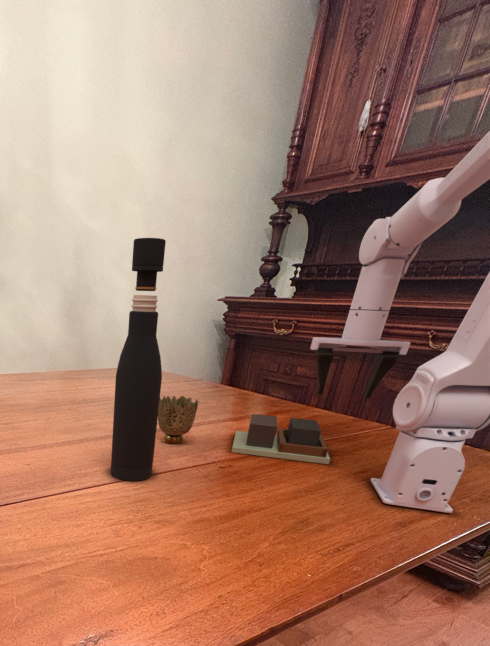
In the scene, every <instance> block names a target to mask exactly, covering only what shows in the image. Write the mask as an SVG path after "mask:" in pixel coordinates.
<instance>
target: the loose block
mask: <svg viewBox="0 0 490 646" xmlns="http://www.w3.org/2000/svg"><path fill="white" fill-rule="evenodd" d="M287 429H288V430H287V434H286V438H285V439H286V443H290V444H299V445H308V446H316V447H317V444H318V441H319V438H320V434H322V429H321V427H320V424H319V422H318V420H316V419H308V418H307V419H306V418H297V417H290V419H289V423H288V427H287Z"/></svg>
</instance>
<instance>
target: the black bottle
mask: <svg viewBox="0 0 490 646" xmlns="http://www.w3.org/2000/svg"><path fill="white" fill-rule="evenodd" d="M166 242H167V241H166V239H165V238H160V237H139V238H138V237H137V238H134V240H133V245H132V246H133V247H132V262H131V266H132V267H131V272H136V284H135V288H134V289H135V291H136V292H156V291H157V278H158V273H162V272H164V264H165V252H166ZM131 301H132V304H131V308H132V310H130V311H129V313H128V328H127V336H126V339H125V341H124V344H123V347H122V350H121V352H120V355H119V358H118V359H119V360H118V363H117V368H116V373H115V382H114V383H115V385H114V400H113V401H114V402H113V403H114V404H113V421H112V439H111V455H110V456H111V459H110V475H111V476H112V477H114V478H115V479H118V480H122V481H127V482H140V481H145V480H148V479H150V478H151V477H152V475H153V466H154V456H155V447H156V437H157V429H158V428H157V426H158V410H159V400H160V399H161V389H162V382H163V381H162V380H163V372H162V359H161V357H162V356H161V352H160V347H159V342H158V338H157V331H158V320H159V312H158V311H157V308H158V305H157V303H158V301H159V300H158V295H149V294H147V295H146V294H134V295H133V298H132V299H131Z"/></svg>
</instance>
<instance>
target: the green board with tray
mask: <svg viewBox="0 0 490 646" xmlns="http://www.w3.org/2000/svg"><path fill="white" fill-rule="evenodd" d="M278 427H279V426H278V416H276V415H267V414H266V415H265V414H257V413H255V414H254V413H252V414H251V416H250V421H249V425H248V430H247V431H242V430H236V431H235V434H234V438H233V442H232V447H231V453H235V454H243V455H249V456H258V457H265V458H273V459H283V460H290V461H299V462H306V463H314V464H321V465H330V462H331V457H330V455H329V448H328V446H327V443H326V441H325V438H324V435H323V434H322V433H321V434H320V438H319V441H318V444H317V447H316V446H308V445H299V444H290V443H286V439H285V438H286V434H287V430H288V428H280V427H279V428H278Z"/></svg>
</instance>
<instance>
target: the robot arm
mask: <svg viewBox="0 0 490 646" xmlns="http://www.w3.org/2000/svg"><path fill="white" fill-rule="evenodd" d="M459 161H460V162H458V163H457V165H455V166H454V168H452V170H451V171H450V172H449V173H447V175H446V176H445V177H437V178H433V179H429V180H428V181H427V182H426V183H425V184H424V185H423V186H422V187H421V188H420V189H419V190H418V191H417V192H416V193H415V194H414V195H413V196H412V197H411V198H410V199H409V200H408V201H406V203H404V205H402V206H401V207H400V208H399V209H398V210H397V211H396V212H395V213H394V214H393V215H392V216H386V217H385V218H377V219H375V220H374V221H373V222H372V224H371V225H370V226H369V227H368V228H367V230H366V232H365V233H364V236H363V237H362V239H361V242H360V247H359V251H358V260H359V263H360V264H361V265H362V267H361V270H360V273H359V276H358V277H359V278H358V281H357V284H356V287H355V291H354V294H353V298H352V300H351V305H350V308H349V311H348V314H347V318H346V321H345V325H344V328H343V331H342V336H341V337H321V336H315V337H314V336H313V337H312V340H311V344H310V347H309V348H310V350H311V351H315V353H314V354H315V359H316V365H317V378H318V379H317V381H318V382H317V390H316V394H317V395H323V394H324V390H325V387H326V381H327V377H328V373H329V371H330V367H331V364H332V362H333V359H334V355H333V354H334V352H335V351H336V352H354V353H373V354H376V355H375V357H374V361H373V365H372V369H371V373H370V377H369V379H368V381H367V384H366V386H365V389H364V391H363V398H365V399H371V397H372V395H373V393H374V391H375V390H376V388H377V387H378V385H379V384H380V383H381V381H382V379H383V378H384V377H385V376H386V375H387V374H388V372H389V371H390V370H391V369H392V368H393V367H394V366H395V365H396V364H397V363H398V361H399V360H400V356H406V355H407V354H408V351H409V348H410V345H411V341H407V340H405V341H403V340H389V339H387V340H386V339H381V338H382V334H383V331H384V328H385V325H386V322H387V320H388V316H389V313H390V310H391V307H392V305H393V301H394V299H395V295H396V292H397V289H398V286H399V283H400V280H401V279H403V278H404V277H405V274H407V271H408V268H409V266H410V264H411V262H412V261H413V260H414V258H415V257H416V255H417V253H418V252H419V250H420V248H421V245H422V243H423V242H424V241H425V240H426V239H428V238H429V237H430V236H431V235H432V234H434V233H435V232H436V231H438V230H439V229H440V228H442V227H443V226H444V225H445V224H446V223H448V222H449V221H450V220H451V219H453V218H454V217H455V216H456V215H457V213H458V212H459V211H460V209H461V204H462V200H463V199H464V198H465V197H467V196H469V195H470V194H471V193H473V192H474V191H476V190H477V189H478V188H480V187H481V186H482V185H484V184H485V183H487V182H488V181H490V130H489V131H488V132H486V134H485V135H484V136H483V137H482V138H481V139H480V141H478V142H477V143H476V145H474V146H473V148H472V149H471V150H470V151H469V152H468V153H467V154H466V155H465V156H464V157H463V158H462V159H461V160H459ZM348 346H353V347H348ZM356 347H368V348H356ZM392 417H393V421H394V424H395V425H396V426H395V429H397V430H399V432H398V435H397V437H396V440H395V443H394V444H393V448H392V450H391V453H390V455H389V458H388V460H387V463H386V465H385V468H384V471H383V473H382V476H381V478H376V477H371V478H370V480H369V481H370V483H371V484H372V486H373V488H374V490H375V491H376V494H378V496H379V498H380V499H381V501H382V503H383V504H386V505H392V506H397V507H398V506H399V507H405V508H413V509H418V510H425V511H433V512H439V513H446V514H453V512H454V509H453V508H452V506H451V505H450V504H449V502H450V500H451V497H452V496H453V493H454V491H455V490H456V487H457V486H458V483H459V481H460V479H461V477H462V475H463V473H464V471H465V467H466V460H465V457H464V455H463V453H462V449H463V447H464V445H465V443H466V440H467V439H473V438H474V436H475V433H476V432H479V431H481V430H484V428H486V427H487V426H489V425H490V271H489V272H488V273H487V276H486V277H485V279H484V281H483V283H482V285H481V286H480V288H479V290H478V292H477V294H476V295H475V298H474V299H473V301H472V303H471V305H470V306H469V308H468V310H467V312H466V314H465V315H464V317H463V319H462V321H461V322H460V324H459V326H458V328H457V330H456V332H455V333H454V336H453V337H452V340H451V341H450V343H449V345H448V346H447V348H446V350H445V351H443V352H442V353H441V354H439V355H436V356H435V357H434V358H431V359H430V360H428V361H426V362H425V363H423V364H421V365H419V366H418V367H417V368H416V370H415V372H414V374H413V376H412V377H411V379H410V380H409V382H408V383H406V384H405V386H403V387H402V389H400V391H399V392H398V394H397V395H396V398H395V399H394V403H393V405H392Z"/></svg>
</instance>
